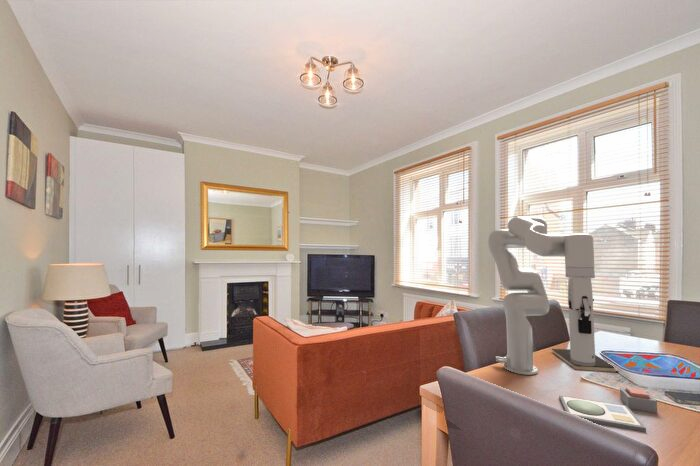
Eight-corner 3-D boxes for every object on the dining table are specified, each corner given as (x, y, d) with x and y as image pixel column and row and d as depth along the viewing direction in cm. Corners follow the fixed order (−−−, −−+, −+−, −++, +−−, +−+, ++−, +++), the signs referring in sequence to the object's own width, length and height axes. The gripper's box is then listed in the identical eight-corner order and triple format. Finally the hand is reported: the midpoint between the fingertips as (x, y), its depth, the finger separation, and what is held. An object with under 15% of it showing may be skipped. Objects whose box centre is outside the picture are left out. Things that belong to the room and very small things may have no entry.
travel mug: (601, 367, 97) (598, 300, 98) (576, 365, 98) (574, 299, 99) (590, 360, 103) (587, 297, 104) (567, 359, 104) (564, 296, 105)
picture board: (568, 418, 96) (567, 413, 96) (559, 398, 109) (559, 394, 109) (646, 431, 88) (645, 427, 88) (626, 408, 101) (626, 404, 101)
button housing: (628, 408, 101) (627, 396, 102) (620, 398, 108) (619, 388, 108) (657, 412, 99) (656, 401, 99) (647, 402, 105) (646, 391, 105)
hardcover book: (574, 370, 134) (574, 365, 134) (551, 353, 157) (551, 348, 157) (618, 373, 131) (618, 367, 131) (588, 355, 154) (588, 350, 154)
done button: (631, 399, 102) (631, 392, 102) (626, 393, 106) (626, 387, 106) (649, 401, 100) (649, 395, 101) (643, 395, 104) (643, 389, 105)
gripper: (560, 270, 111) (562, 323, 110) (571, 274, 96) (574, 336, 95) (587, 271, 108) (589, 325, 107) (602, 275, 93) (605, 339, 92)
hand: (582, 330), depth 101 cm, fingers closed on travel mug, 6 cm apart
